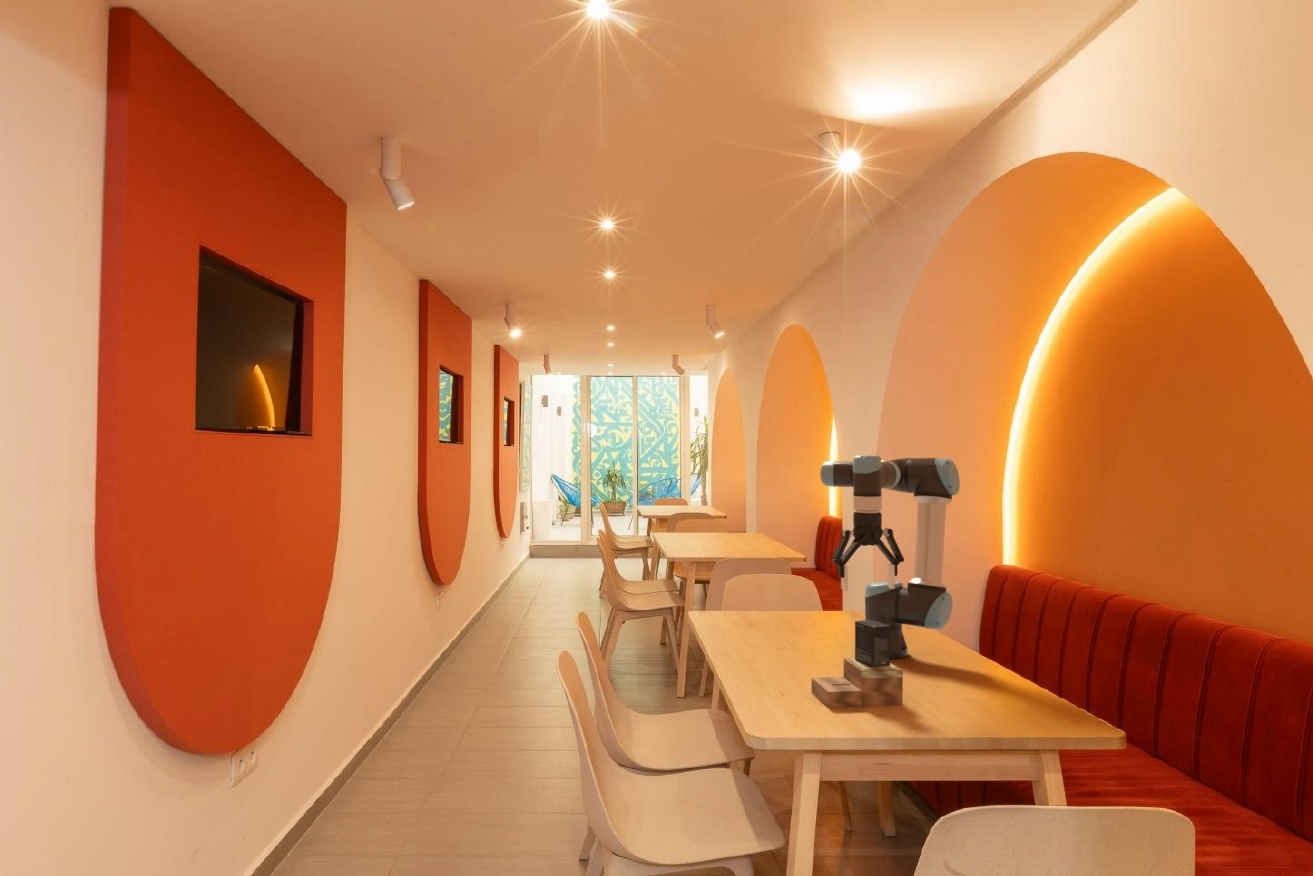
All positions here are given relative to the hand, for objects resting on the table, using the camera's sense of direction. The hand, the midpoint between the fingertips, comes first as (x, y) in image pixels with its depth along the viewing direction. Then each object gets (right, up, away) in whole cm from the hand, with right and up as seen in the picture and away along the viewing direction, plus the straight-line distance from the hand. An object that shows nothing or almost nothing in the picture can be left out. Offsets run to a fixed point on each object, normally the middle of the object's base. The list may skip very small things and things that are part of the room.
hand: (867, 589), depth 201 cm
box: (-1, -18, -7) cm, 20 cm away
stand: (-6, -27, -8) cm, 29 cm away
